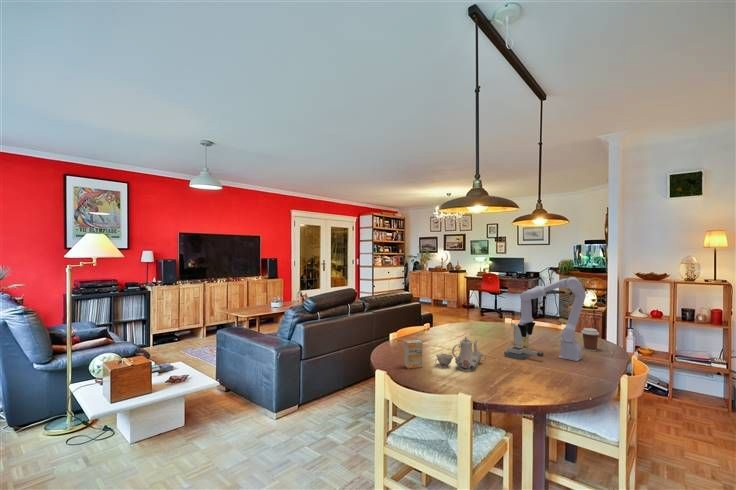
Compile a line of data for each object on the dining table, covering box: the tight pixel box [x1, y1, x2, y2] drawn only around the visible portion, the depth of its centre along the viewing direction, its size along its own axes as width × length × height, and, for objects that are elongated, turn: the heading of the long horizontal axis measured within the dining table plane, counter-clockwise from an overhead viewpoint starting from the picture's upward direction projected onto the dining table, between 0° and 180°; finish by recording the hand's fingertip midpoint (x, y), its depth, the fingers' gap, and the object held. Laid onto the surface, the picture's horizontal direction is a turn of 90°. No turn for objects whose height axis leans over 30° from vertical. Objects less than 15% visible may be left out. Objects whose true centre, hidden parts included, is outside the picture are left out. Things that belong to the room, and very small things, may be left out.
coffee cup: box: [580, 327, 600, 352], centre depth 212 cm, size 9×9×12 cm
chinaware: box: [435, 336, 487, 372], centre depth 184 cm, size 28×17×17 cm, turn 111°
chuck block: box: [503, 350, 531, 361], centre depth 200 cm, size 10×10×2 cm
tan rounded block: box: [521, 337, 530, 350], centre depth 205 cm, size 3×5×9 cm, turn 134°
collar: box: [507, 345, 544, 358], centre depth 196 cm, size 17×7×2 cm, turn 44°
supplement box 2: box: [512, 322, 530, 347], centre depth 225 cm, size 7×7×13 cm
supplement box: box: [404, 339, 423, 370], centre depth 184 cm, size 8×5×13 cm, turn 105°
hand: (526, 335), depth 207 cm, fingers open, 7 cm apart
